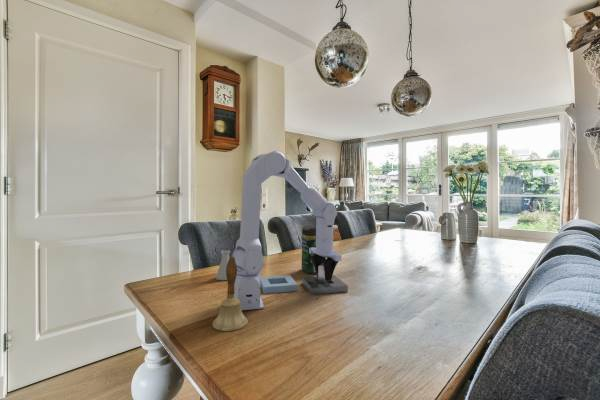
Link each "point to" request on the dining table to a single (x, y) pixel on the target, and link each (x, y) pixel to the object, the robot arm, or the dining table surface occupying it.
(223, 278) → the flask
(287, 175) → the robot arm
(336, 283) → the socket block
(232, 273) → the hand bell
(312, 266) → the coffee jar
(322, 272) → the steel peg
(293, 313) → the dining table surface
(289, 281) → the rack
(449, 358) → the dining table surface
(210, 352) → the dining table surface
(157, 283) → the dining table surface
